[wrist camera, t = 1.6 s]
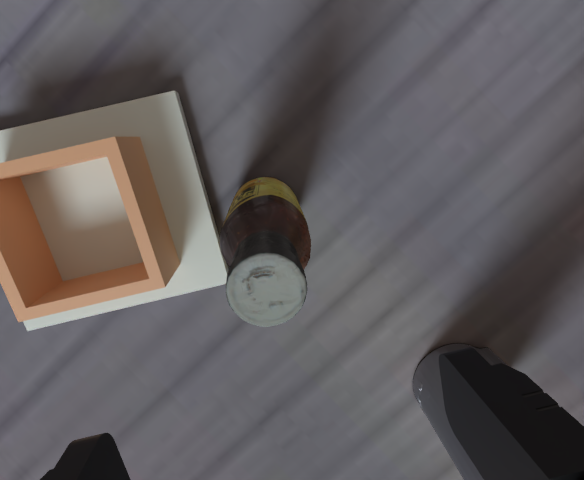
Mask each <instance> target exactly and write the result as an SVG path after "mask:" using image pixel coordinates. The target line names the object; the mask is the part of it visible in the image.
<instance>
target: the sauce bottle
mask: <svg viewBox="0 0 584 480" xmlns="http://www.w3.org/2000/svg"><path fill="white" fill-rule="evenodd" d="M310 248H311V239H310V234H309V230H308V225H307V222H306V219H305V217H304V215H303V212H302V210H301V208H300V205H299V203H298V200H297V197H296V195H295V194H294V193H293V191H292V190H291V189H290V188H289V187H288V186H287V185H286V184H285V183H283V182H281V181H280V180H278V179H276V178H273V177H261V178H256V179H252V180H250V181H248V182H247V183H245V184H244V185H243V186H242V187H241V188H240V189H239V190H238V192H237V193H236V195H235V197H234V199H233V202H232V204H231V206H230V208H229V211H228V213H227V216H226V219H225V221H224V224H223V227H222V230H221V233H220V249H221V253H222V255H223V257H224V259H225V261H226V262H227V263H228V264H229V266H230V268H229V271H228V273H227V280H226V295H227V299H228V302H229V306H230V307H231V308H232V310H233V311H234V312H235V313H236V314H237V315H238V316H239V317H240V318H241V319H243V320H244V321H246V322H248V323H250V324H252V325H257V326H263V327H269V326H276V325H279V324H281V323H284V322H287V321H288V320H289V319H291V318H293V317H294V316H295V315H296V314H297V313H298V312H299V310H300V309H301V308H302V306H303V304H304V301H305V298H306V293H307V282H306V276H305V273H304V268H305V267H306V265H307V263H308V261H309V259H310V251H311V249H310Z"/></svg>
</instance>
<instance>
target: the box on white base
mask: <svg viewBox="0 0 584 480" xmlns="http://www.w3.org/2000/svg"><path fill="white" fill-rule="evenodd" d="M228 271H229V270H228V266H227V263H226V261H225V259H224V257H223V255H222V253H221V249H220V238H219V234H218V231H217V227H216V224H215V220H214V217H213V213H212V210H211V206H210V203H209V199H208V196H207V192H206V189H205V185H204V182H203V178H202V175H201V171H200V168H199V164H198V161H197V157H196V154H195V150H194V147H193V143H192V140H191V136H190V132H189V129H188V125H187V122H186V118H185V115H184V111H183V108H182V104H181V101H180V97H179V94H178V92H176V91H175V90H174V91H170V92H166V93H161V94H157V95H153V96H148V97H144V98H140V99H135V100H131V101H127V102H122V103H118V104H113V105H109V106H105V107H100V108H96V109H92V110H87V111H83V112H79V113H74V114H70V115H66V116H61V117H57V118H53V119H48V120H44V121H40V122H35V123H31V124H27V125H22V126H18V127H13V128H9V129H5V130H0V283H1V285H2V287H3V290H4V292H5V294H6V296H7V298H8V300H9V303H10V305H11V307H12V309H13V311H14V314H15V316H16V318H17V320H18V322H22V321H23V322H24V324H25V327H26V329H27V331H30V330H34V329H38V328H43V327H47V326H51V325H55V324H59V323H64V322H68V321H72V320H76V319H80V318H84V317H89V316H93V315H97V314H101V313H105V312H110V311H114V310H118V309H122V308H126V307H131V306H135V305H139V304H143V303H147V302H152V301H156V300H160V299H164V298H168V297H173V296H177V295H181V294H185V293H189V292H193V291H198V290H202V289H206V288H210V287H214V286H219V285H223V284H226V280H227V273H228Z"/></svg>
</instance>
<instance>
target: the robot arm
mask: <svg viewBox="0 0 584 480" xmlns="http://www.w3.org/2000/svg"><path fill="white" fill-rule="evenodd" d="M413 391H414V395H415V397H416V399H417V401H418V403H419V404H420V407H421V408H422V410H423V412H424V414H425V415H426V416H427V418H428V420H429V421H430V423H431V425H432V427H433V428H434V430H435V432H436V433H437V435H438V437H439V438H440V440H441V442H442V444H443V445H444V447H445V449H446V450H447V452H448V454H449V455H450V457H451V459H452V460H453V462H454V464H455V465H456V467H457V469H458V471H459V472H460V474H461V476H462V477H463V479H464V480H584V426H582V425H581V424H580V423H579V422H578V421H577V420H576V419H575V418H574V417H572V416H571V415H570V414H569V413H568V412H567V411H566V410H565V409H563V408H562V407H559V406H558V403H557V402H556V401H555V400H553V399H552V398H551V397H550V396H549V395H548V394H547V393H544V392H543V390H542V389H541V388H540V387H539V386H538V385H537V384H536V383H534V382H533V381H532V380H531V379H530V378H529V377H528V376H527V375H525V374H524V373H522V372H520V371H517V370H515V369H513V368H511V367H509V366H508V365H506V364H505V363H504V362H503V361H502V360H501V359H500V358H499V357H498V356H497V355H496V354H495V353H493V352H492V351H491V350H490V349H489V348H482V349H478V348H475V347H473V346H470V345H466V344H450V345H446V346H443V347H440V348H438V349H436V350H434V351H433V352H431V353H430V354H428V355H427V356H426V357H425V358H424V359H423V360H422V362H421V363H420V364H419V366H418V367H417V369H416V372H415V374H414V378H413ZM40 480H130V477H129V475H128V473H127V470H126V468H125V465H124V463H123V460H122V458H121V456H120V453H119V451H118V448H117V446H116V443H115V441H114V439H113V437H112V436H111V435H110V434H109V433H103V434H99V435H95V436H90V437H86V438H82V439H78V440H74V441H72V442H71V443H70V444H69V445H68V447H67V448H66V450H65V452H64V453H63V455H62V456H61V458H60V460H59V461H58V463H57V464H56V466H55V468H54V469H52V470H49V471H48V472H47V473H46V474H45V475H44V476H43V477H42V478H41V479H40Z"/></svg>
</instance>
